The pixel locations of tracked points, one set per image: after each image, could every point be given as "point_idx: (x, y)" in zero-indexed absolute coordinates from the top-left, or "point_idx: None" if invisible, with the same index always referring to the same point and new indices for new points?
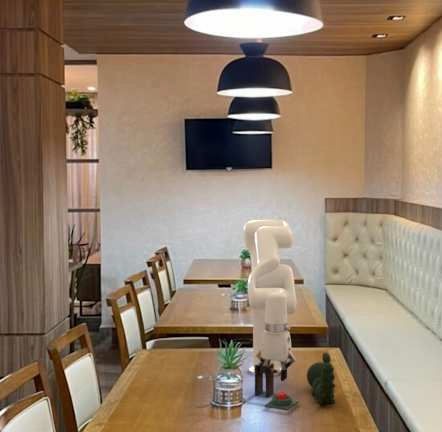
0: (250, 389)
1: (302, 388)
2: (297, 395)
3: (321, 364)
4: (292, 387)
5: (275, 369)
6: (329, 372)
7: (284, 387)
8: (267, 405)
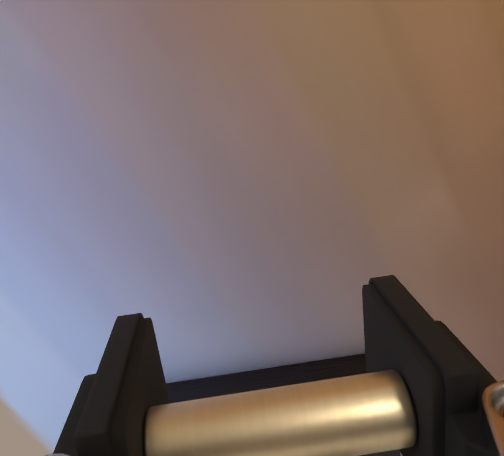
0: (5, 374)
1: (469, 32)
2: (500, 273)
3: None
4: (349, 65)
5: (273, 450)
6: None
7: (267, 119)
8: None
